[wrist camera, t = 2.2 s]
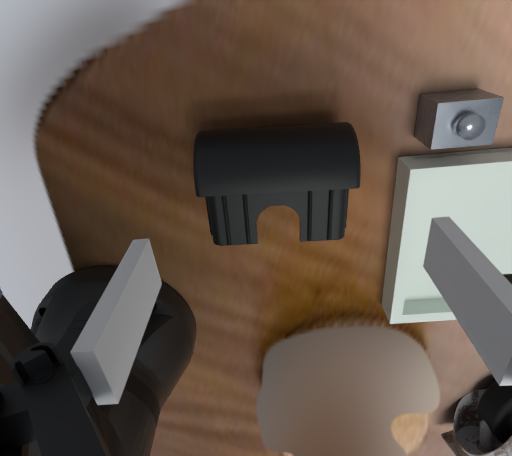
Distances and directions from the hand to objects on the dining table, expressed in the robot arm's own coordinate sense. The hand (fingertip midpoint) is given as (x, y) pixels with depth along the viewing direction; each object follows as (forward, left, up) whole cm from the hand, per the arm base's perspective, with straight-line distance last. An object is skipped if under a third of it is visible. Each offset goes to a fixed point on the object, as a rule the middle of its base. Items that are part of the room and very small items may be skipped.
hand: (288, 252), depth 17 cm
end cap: (0, 0, -13) cm, 13 cm away
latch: (+12, +2, -12) cm, 18 cm away
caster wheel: (+23, -31, -13) cm, 41 cm away
